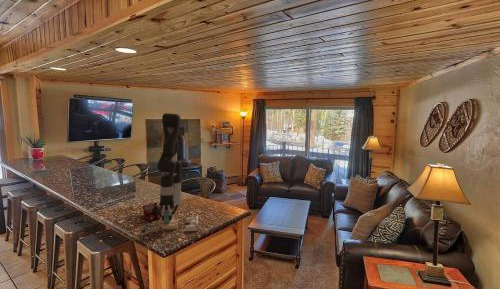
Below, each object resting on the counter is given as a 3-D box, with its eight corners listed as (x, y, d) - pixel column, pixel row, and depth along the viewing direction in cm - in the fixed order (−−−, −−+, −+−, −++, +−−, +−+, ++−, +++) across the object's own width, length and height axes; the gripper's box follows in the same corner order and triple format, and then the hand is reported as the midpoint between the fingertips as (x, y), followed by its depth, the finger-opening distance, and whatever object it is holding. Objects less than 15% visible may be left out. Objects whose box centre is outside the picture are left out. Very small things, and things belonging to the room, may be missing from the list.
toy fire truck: (164, 217, 174) (164, 202, 173) (146, 223, 165) (146, 207, 164) (158, 215, 179) (158, 200, 177) (140, 220, 169) (140, 204, 168)
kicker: (163, 223, 163) (163, 209, 162) (178, 223, 165) (178, 208, 164) (161, 229, 155) (161, 214, 154) (177, 228, 157) (177, 213, 156)
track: (147, 224, 162) (147, 221, 162) (180, 223, 166) (180, 220, 165) (144, 231, 153) (144, 227, 153) (178, 230, 157) (178, 226, 157)
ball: (188, 224, 164) (191, 218, 164) (195, 225, 165) (197, 219, 165) (188, 226, 160) (190, 220, 160) (194, 228, 161) (197, 222, 161)
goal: (186, 222, 168) (186, 215, 168) (198, 221, 170) (198, 215, 169) (185, 231, 156) (185, 223, 155) (197, 230, 157) (197, 223, 156)
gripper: (179, 191, 162) (179, 218, 164) (155, 191, 160) (155, 218, 162) (178, 194, 155) (178, 223, 157) (153, 195, 153) (153, 223, 154)
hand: (166, 220), depth 159 cm, fingers closed on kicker, 3 cm apart
